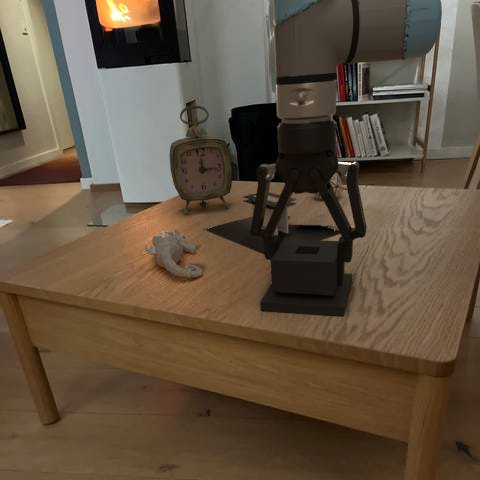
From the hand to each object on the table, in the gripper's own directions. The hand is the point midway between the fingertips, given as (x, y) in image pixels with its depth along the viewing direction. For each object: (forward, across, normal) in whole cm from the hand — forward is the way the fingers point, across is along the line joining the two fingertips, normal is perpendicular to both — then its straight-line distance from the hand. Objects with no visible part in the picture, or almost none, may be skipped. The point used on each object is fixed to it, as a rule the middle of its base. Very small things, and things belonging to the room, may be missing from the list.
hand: (307, 280), depth 72 cm
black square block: (0, 0, 0) cm, 0 cm away
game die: (+3, -5, +56) cm, 56 cm away
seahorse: (+3, -27, +11) cm, 29 cm away
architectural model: (+3, -14, +32) cm, 35 cm away
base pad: (+3, 0, 0) cm, 3 cm away
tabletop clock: (+3, -36, +49) cm, 61 cm away
